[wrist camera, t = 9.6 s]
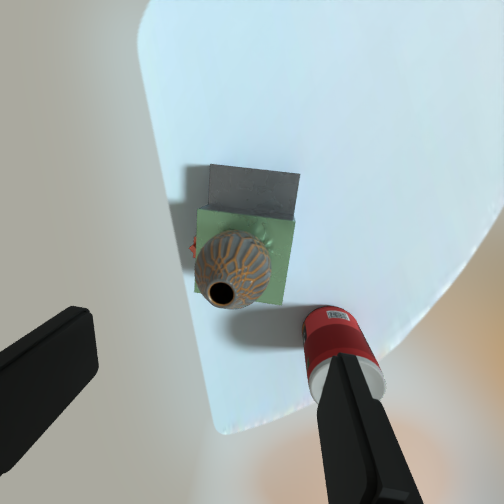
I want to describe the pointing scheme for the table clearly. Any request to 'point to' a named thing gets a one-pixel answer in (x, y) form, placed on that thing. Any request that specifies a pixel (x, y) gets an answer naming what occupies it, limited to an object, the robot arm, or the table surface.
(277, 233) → the stand
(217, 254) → the vase
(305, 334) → the canned food
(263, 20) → the table surface
